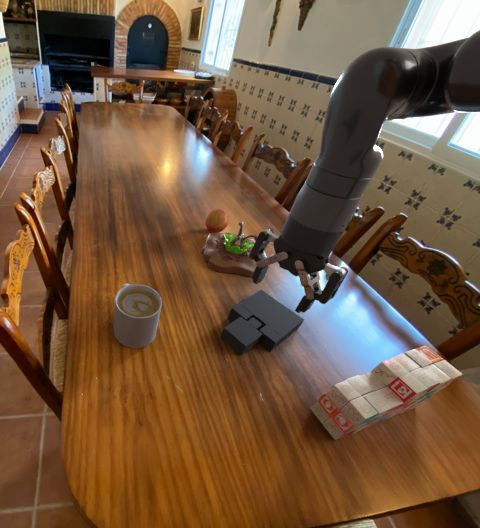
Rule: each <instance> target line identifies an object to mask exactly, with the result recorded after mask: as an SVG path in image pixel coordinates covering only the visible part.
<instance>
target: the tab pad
mask: <svg viewBox="0 0 480 528" xmlns="http://www.w3.org/2000/svg"><path fill="white" fill-rule="evenodd" d="M261 326H262V324H261V323H260V322H259V321H257V320H256V319H255V318H254V317H253V318H251V319H250V320H248V321H246V320H244V319H243V318H242V317H239V318H238V319H236V320H235V321H231V322H230V323H229V324H227V325H226V326H224V328H223V330H222V332H221V334H220V336H219V337H220V339H222V341H224V342H225V343H226V344H227V345H228V346H229V347H230V348H231V349H233V350H234V351H235V352H236V353H237V354H238V355H239V356H240V357H242V356H243V355H245V354H246V353H247V352H248V351H250V350H251V349H253V348H254V347H255V346H256V345H258V344H259V343H258V341H259V340H260V338H261V336H262V333H261V332H259V330H260V328H261Z"/></svg>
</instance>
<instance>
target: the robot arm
mask: <svg viewBox="0 0 480 528" xmlns="http://www.w3.org/2000/svg"><path fill="white" fill-rule="evenodd" d="M452 113H480V29H479V30H476V32H475V33H473V34H472V35H470V36H469V37H466V38H465V37H464V38H461V39H458V40H454V41H449V42H445V43H442V44H438V45H431V46H426V47H419V48H409V47H408V48H407V47H395V46H381V47H375V48H372V49H369V50H367V51H365V52H363V53H362V54H360V55H358V56H357V57H356V58H355V59H353V60H352V61H351V62H350V63H349V64H348V65H347V66H346V68H345V69H344V70H343V71H342V73H341V74H340V75H339V77H338V79H337V80H336V82H335V83H334V86H333V88H332V90H331V93H330V95H329V98H328V102H327V105H326V110H325V115H324V116H325V117H324V121H323V126H322V131H321V136H320V144H319V150H318V154H317V155H316V157H315V159H314V161H313V164H312V167H311V169H310V170H309V173H308V175H307V177H306V179H305V182H304V184H303V185H302V187H301V188H300V190H299V192H298V193H297V194H296V197H295V200H294V201H293V204H292V206H291V208H290V210H289V213H288V215H287V217H286V219H285V222H284V223H283V226H282V228H281V230H280V233H279V235H277V234H275V233H274V232H275V231H274V229H273V228H270V227H269V228H267V229H264V230H261V231H260V232H259V233H258V235H257V239H256V242H255V244H254V246H253V248H252V250H251V252H250V254H249V258H250V259H252V260H254V261H255V262H256V268H255V270H254V273H253V275H252V277H251V279H252V283H254V284H255V285H258V284H260V283H262V281H263V280H264V278H265V276H266V274H267V272H268V269H269V267H270V265H273V264H276V263H277V264H278V265H279V266H278V267H279V268H281V269H283V270H285V271H288V273H290V274H291V275H292V276H294V277H298V278H299V282H300V286H301V287H303V290H304V295H303V296H302V298H301V299H300V301H299V303H298V304H297V306H296V308H295V309H294V312H295V313H296V314H300V313H303V314H305V313H306V312H307V311H308V310H310V309H311V308H312V306H313V304H314V303H315V301H317V302H318V303H320V304H321V305H326V304H327V303H328V302H330V301H331V300H332V299H334V298H335V296H336V294H338V293H337V292H338V291H339V289H340V287H341V285H342V284H343V282H344V281H345V279H346V277H347V275H348V273H349V269H348V268H347V267H346V266H340V267H338V266H335V265H334V264H331V263H330V262H329V257H330V255H331V253H332V252H333V250H334V248H335V247H336V245H337V244H338V242H339V240H340V239H341V237H342V235H343V234H344V232H345V230H346V228H347V227H348V226H349V225H350V223H351V222H352V219H353V217H354V215H355V213H356V211H357V209H358V208H359V205H360V202H361V200H362V198H363V196H364V195H365V192H366V191H367V189H368V187H369V186H370V185H371V182H372V181H373V179H374V177H375V175H376V174H377V172H378V170H379V168H380V166H381V164H382V161H383V159H384V153H383V151H382V149H381V148H380V147H379V146H377V145H376V144H377V142H378V139H379V136H380V133H381V132H382V128H383V126H384V123H385V122H390V121H392V122H393V121H400V120H401V121H403V120H409V119H418V118H426V117H433V116H440V115H446V114H452ZM269 244H272V245H273V249H274V253H273V254H270V255H268V256H267V257H265V256H264V255H263V253H264V252H266V248H267V247H268V245H269ZM322 271H324V272H325V280H327V282H326V284H325V286H324V287H323V290H322V288H321V283H320V279H321V276H320V273H319V272H322Z"/></svg>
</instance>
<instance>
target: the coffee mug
mask: <svg viewBox="0 0 480 528" xmlns="http://www.w3.org/2000/svg"><path fill="white" fill-rule="evenodd" d="M162 300H163V299H162V297H161V295H160V293H159V292H158V291H157V290H155V289H154V288H153V287H151V286H148V285H145V284H141V283H133V284H130V283H124V284H122V286H121V288H120V289H119V290H118V291H117V292H116V293H115V297H114V308H113V309H114V311H113V328H112V329H113V330H112V331H113V336H114V337H115V339H116V340H117V341H118V342H119V343H120V345H122V346H125V347H127V348H130V349H142V348H146V347H148V346H150V345H151V344H152V343H153V342H154V341H155V339H156V336H157V332H158V327H159V322H160V317H161V312H162V307H163V301H162Z"/></svg>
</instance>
